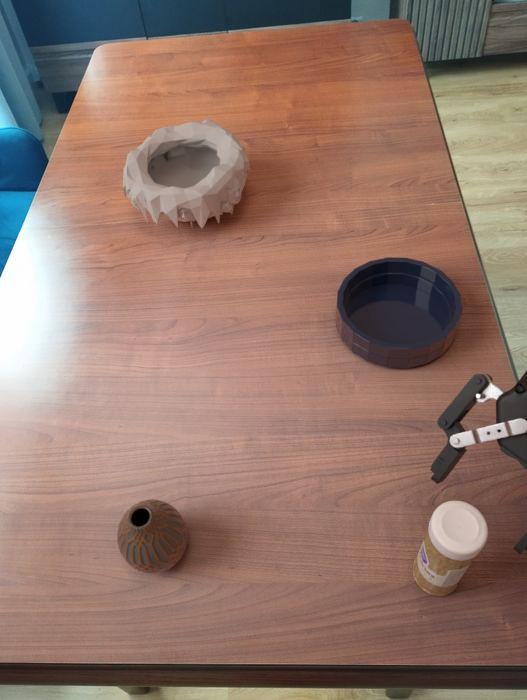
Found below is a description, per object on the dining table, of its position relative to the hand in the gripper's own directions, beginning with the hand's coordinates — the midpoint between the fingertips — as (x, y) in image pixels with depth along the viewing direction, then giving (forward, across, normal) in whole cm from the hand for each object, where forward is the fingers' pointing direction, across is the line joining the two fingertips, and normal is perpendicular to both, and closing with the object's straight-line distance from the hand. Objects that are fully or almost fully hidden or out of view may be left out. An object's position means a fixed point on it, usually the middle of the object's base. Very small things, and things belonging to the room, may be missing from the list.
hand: (476, 513), depth 51 cm
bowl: (-3, -64, +19) cm, 67 cm away
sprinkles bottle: (+10, 0, +5) cm, 11 cm away
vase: (+23, -21, -8) cm, 32 cm away
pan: (-6, -24, +21) cm, 33 cm away
